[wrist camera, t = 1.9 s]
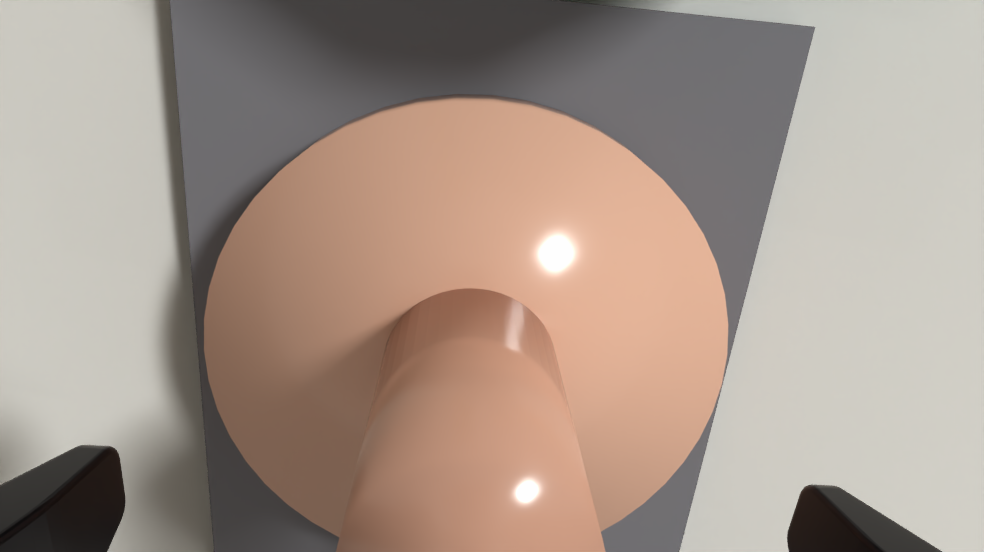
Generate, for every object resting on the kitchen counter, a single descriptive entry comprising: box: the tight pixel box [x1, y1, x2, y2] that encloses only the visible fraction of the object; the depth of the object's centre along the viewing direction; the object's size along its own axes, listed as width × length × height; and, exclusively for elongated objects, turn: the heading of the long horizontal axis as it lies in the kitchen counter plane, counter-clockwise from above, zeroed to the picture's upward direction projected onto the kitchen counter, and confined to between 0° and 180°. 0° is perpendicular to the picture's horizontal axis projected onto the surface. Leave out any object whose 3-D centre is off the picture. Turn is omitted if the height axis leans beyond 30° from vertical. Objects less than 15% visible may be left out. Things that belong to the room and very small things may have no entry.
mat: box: [170, 0, 815, 552], centre depth 13 cm, size 12×10×1 cm
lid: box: [204, 94, 728, 552], centre depth 10 cm, size 9×9×6 cm
